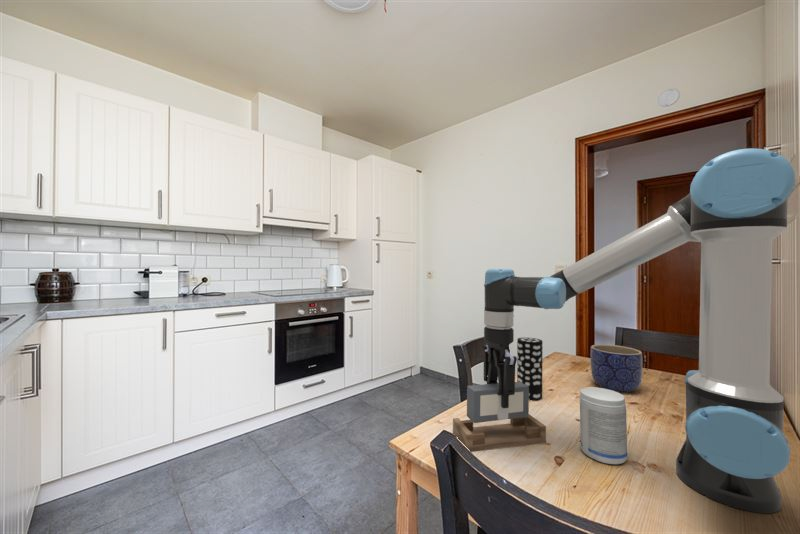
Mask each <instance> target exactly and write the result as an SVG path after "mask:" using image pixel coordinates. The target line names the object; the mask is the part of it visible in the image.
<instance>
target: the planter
mask: <svg viewBox="0 0 800 534" xmlns="http://www.w3.org/2000/svg"><path fill="white" fill-rule="evenodd" d="M590 373H591V376H592V377H591V378H592V379H593V381H594V382H595V383H596V384H597V385H598V386H599V387H600V388H604V389H608V390H612V391H615V392H618V393H625V394H626V393H633V392H635V391H636V390H638V389H639V388H640V387H641V385H642V381H643V352H642V351H641V350H639V349H637V348H634V347H633V348H632V347H630V346H629V347H628V346H624V345H617V344H615V345H614V344H593V345H591V346H590Z"/></svg>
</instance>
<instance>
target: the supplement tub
mask: <svg viewBox="0 0 800 534" xmlns="http://www.w3.org/2000/svg"><path fill="white" fill-rule="evenodd" d="M579 393H580V394H579V429H580V430H579V433H580V434H579V435H580V449H581V450H582V452H583V453H584V454H585V455H586V456H588V457H589V458H591V459H593V460H595V461H597V462H600V463H603V464H608V465H620V464H621V465H622V464H624V463H625V462H626V461H627V459H628V434H627V433H628V431H627V429H628V428H627V405H626V397H625V395H623V394H621V392H615V391H612V390H608V389H605V388H602V387H594V386H588V387H582V388H581V389H580V391H579Z"/></svg>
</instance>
